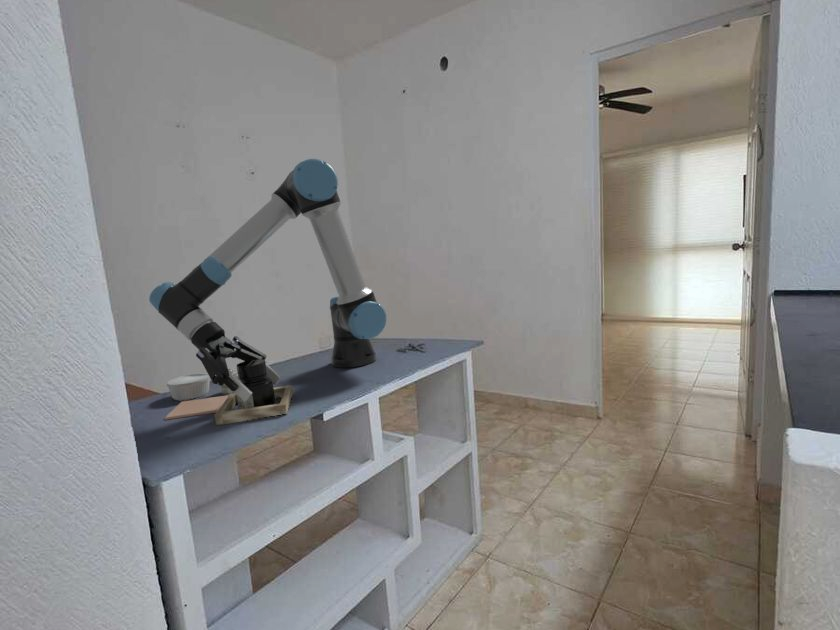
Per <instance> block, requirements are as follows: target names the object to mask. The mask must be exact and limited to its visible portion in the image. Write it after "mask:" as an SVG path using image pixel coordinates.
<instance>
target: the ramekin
mask: <svg viewBox="0 0 840 630" xmlns="http://www.w3.org/2000/svg"><path fill="white" fill-rule="evenodd" d="M210 381H211V378H210V377H209V375H208V373H207V372H205V373H203V372H201V373H192V374H185V375H181V376H178V377H175V378H172V379H170V380H168V381H167V382H166V387H167V388H168V391H169V393H170V395H171V398H172V399H173V400H174V401H177V400H178V401H180V402H183V400H184V401H190V399H191V400H195V399H198V397H199V398H201V396H202V397H203V395H204V396H206V395H207V394H208V393H209V391H210V385H211V383H210ZM205 394H206V395H205ZM194 398H195V399H194Z"/></svg>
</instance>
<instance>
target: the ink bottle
mask: <svg viewBox="0 0 840 630" xmlns="http://www.w3.org/2000/svg"><path fill="white" fill-rule="evenodd" d="M266 363H267V362H266V359H265V360H263V359H257V360H249V361H242V362H239V363H237V364H236V372H237V374H238V377H239V380H241V381H240V382H241V383H243V384H244V385H245V386H246V387H247V388H248V389H249V390H250V391H251V392H252V395H251V396H250V397H249V399H248V400H247V401H246V402H245V401H244V400H242V399H241V398H240V397H239V396H238V395H237V394H236V395H237V401H238V404H237V406H238V407H237V408H238V410H239V409H246V408H253V407H260V406H267V405H273V404H277V402H276V398H275V394H274V388H275V387H274V384H273V382H272V380H271V379H270V378H268V377H267V376H266V375H267V369H266Z"/></svg>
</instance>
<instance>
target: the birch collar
mask: <svg viewBox="0 0 840 630" xmlns="http://www.w3.org/2000/svg"><path fill="white" fill-rule="evenodd" d="M274 394H275V397H280V396H282V397H280V398H281V400H280V402H279V403H276V404H273V405H267V406H260V407H253V408H246V409H239V408H238V409H234V408H235V407H236V406H237V404H236V403H238V401H237V395H236V393H235V392H233V393H230V394H228V398H227V399H226V400H225V402H224V403H223V404H222V406H221V407H220V408H219V410H218V411H217V412H216V413H215V414H214V419H215V426H220V425H221V426H222V425H228V424H235V423H241V422H247V420H248V421H253V420H252V419H255V420H259V419H258V418H261V419H264V418H263V417H268V418H270V417H269V416H275V415H280V414H286V413H287V411H288V412H289V410H288V408H290V406H291V403H290V402H292V400H291V398H292V399H293V396H294V391H293V385H292V384H290V385H285V386H284V385H283V386H278V387H277V386H276V387H274ZM292 395H293V396H292ZM289 405H290V406H289ZM287 414H288V413H287ZM275 417H276V416H275Z"/></svg>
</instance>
